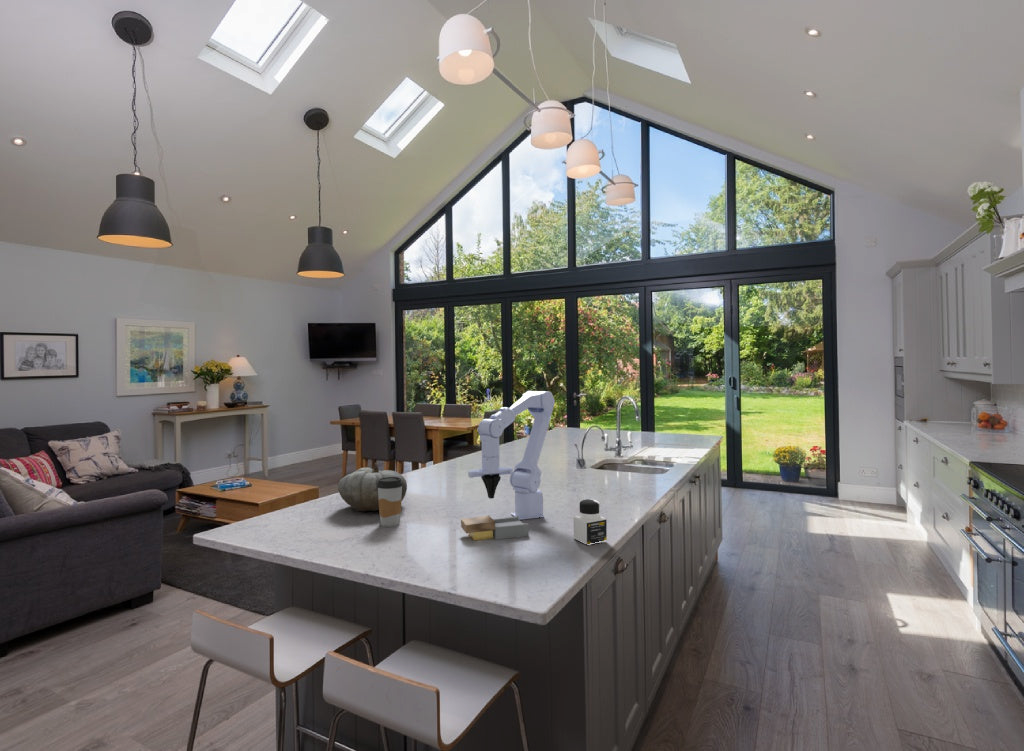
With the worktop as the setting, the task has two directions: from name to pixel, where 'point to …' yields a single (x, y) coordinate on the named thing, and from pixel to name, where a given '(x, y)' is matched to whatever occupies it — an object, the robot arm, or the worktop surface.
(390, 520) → the coffee cup
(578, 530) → the medicine bottle
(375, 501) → the gourd
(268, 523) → the worktop surface
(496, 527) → the grey piece
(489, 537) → the yellow square tray
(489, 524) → the cover
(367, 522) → the worktop surface
